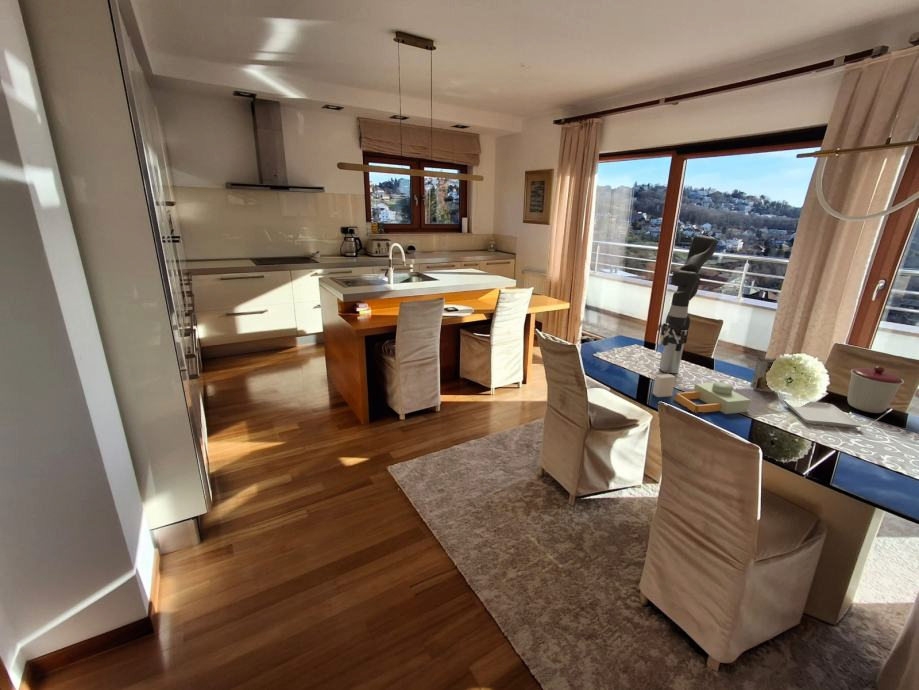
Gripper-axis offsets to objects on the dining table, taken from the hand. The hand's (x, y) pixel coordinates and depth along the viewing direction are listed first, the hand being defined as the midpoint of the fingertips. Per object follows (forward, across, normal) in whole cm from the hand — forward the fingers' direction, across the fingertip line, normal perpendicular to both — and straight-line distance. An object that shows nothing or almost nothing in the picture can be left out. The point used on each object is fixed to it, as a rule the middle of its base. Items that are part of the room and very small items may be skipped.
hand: (671, 348), depth 202 cm
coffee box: (+24, +3, +57) cm, 62 cm away
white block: (+24, 0, 0) cm, 24 cm away
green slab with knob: (+24, +13, +14) cm, 31 cm away
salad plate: (+25, +33, +55) cm, 69 cm away
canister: (+24, +30, +87) cm, 95 cm away
